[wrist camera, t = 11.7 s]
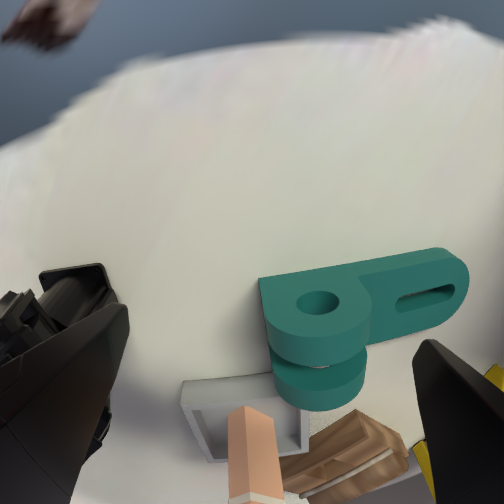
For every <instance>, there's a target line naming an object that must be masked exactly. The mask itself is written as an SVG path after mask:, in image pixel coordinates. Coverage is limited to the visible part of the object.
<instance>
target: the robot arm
mask: <svg viewBox="0 0 504 504" xmlns="http://www.w3.org/2000/svg"><path fill="white" fill-rule="evenodd" d="M96 268H98V269H99V270H100V272H98V271H97V270H96ZM43 276H44V277H45V278H46V279H45V278H44V277H43ZM39 280H40V283H41V285H42V288H43V290H44V294H43V295H42V296H41V297H40V298H39V299H38V300H36V298H35V297H34V296H35V295H34V293H33V292H32V290H31V289H29V290H27V291H26V292H25V293H23V292H21V293H20V294H19V293H18V294H16V293H14V292H12V291H9V292H8V293H6V294H5V295H4V296H3V297H2V298H1V299H0V504H70V500H71V497H72V494H73V491H74V488H75V485H76V482H77V479H78V476H79V473H80V470H81V467H82V465H83V464H84V463H85V462H86V461H87V459H88V458H89V457H90V456H91V455H92V454H93V453H94V452H96V451H97V450H98V449H99V448H100V447H101V446H102V441H103V439H104V438H105V436H106V434H107V432H108V430H109V427H110V421H111V418H112V414H111V412H110V391H111V389H112V386H113V384H114V381H115V379H116V376H117V373H118V369H119V366H120V362H121V359H122V355H123V352H124V349H125V346H126V342H127V339H128V336H129V331H130V326H129V317H128V308H127V306H126V305H125V304H120V303H118V301H117V298H116V295H115V292H114V290H113V289H112V288H111V286H110V283H109V280H108V277H107V274H106V271H105V268H104V266H103V265H102V264H100V263H94V264H87V265H80V266H74V267H67V268H60V269H54V270H47V271H43V272H41V273H40V274H39ZM412 367H413V374H414V380H415V386H416V393H417V400H418V406H419V411H420V415H421V420H422V424H423V429H424V433H425V438H426V443H427V449H428V454H429V459H430V465H431V471H432V478H433V484H434V492H435V499H436V504H504V392H503V391H502V390H501V389H499V388H498V387H497V386H496V385H494V384H493V383H492V382H490V381H489V380H488V379H487V378H485V377H484V376H483V375H481V374H480V373H479V372H478V371H476V370H475V369H474V368H472V367H471V366H470V365H468V364H467V363H466V362H465V361H463V360H462V359H461V358H459V357H458V356H457V355H455V354H454V353H453V352H451V351H450V350H449V349H447V348H446V347H445V346H443V345H442V344H441V343H439V342H438V341H437V340H434V339H426V340H424V341H423V342H422V343H421V345H420V347H419V349H418V350H417V352H416V354H415V356H414V357H413V360H412Z"/></svg>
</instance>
